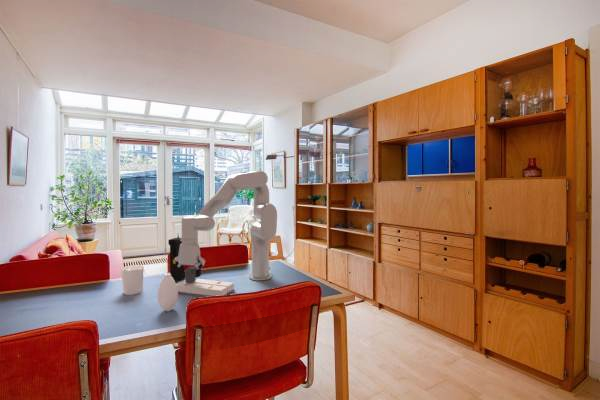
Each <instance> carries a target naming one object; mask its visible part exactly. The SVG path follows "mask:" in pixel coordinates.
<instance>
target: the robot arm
mask: <svg viewBox="0 0 600 400" xmlns="http://www.w3.org/2000/svg"><path fill="white" fill-rule="evenodd" d="M268 179H269V178H268V174H267V173H266V172H265V171H263V170H250V171H248V172H244V173H233V174H232V173H231V174H230V175H229V176H228V177H227V178H226V179H225V180H224V182H223V183H222V185H221V186H220V187H219V189H218V190H217V192H216V193H215V194H214V195H213V196H212V197H211V198H210V200H209V201H207V202H206V203H205V204H204V205H203V207H202V208H201V209H200V210H199V212H198V214H197V215H195V216H194V215H193V216H190V215H189V216H183V217H182V219H181V238H182V239H180V241H182V244H180V248H179V255H178V256H177V257H175V261H176V264H177V265H178V267H179V275H183V274H184V268H185V266H190V267H195V269H196V278H197V279H198V278H199V277H201V275H202V269H203V267H204V266H205V263H206V260H205V258H203V257H201V249H200V244H199V237H198V236H199V234H198V233H199V231H201V232H210V231H212V230H213V229H214V228H215V226H216V221H215V219H214V218H213V217H215V215H216V214H217V213H218V212H219V211H220V210H222V209H224V208H226V207H228V205H230V203H231V202H232V200H233V199H234V198H235V196H236V195H237V193H238V192H239V191H246V190H251V189H252V191H253V210H252V211H253V213H252V214H253V215H254V217H255V218H256V219H257V220H260V221H255V222H254V223H252V225H251V227H250V234H249V235H250V238H251V273H250V274H249V277H248V278H249V279H250V280H252V281H257V282H258V281H266V280H270V279H272V277H273V275H272V274H271V273H270V270H271V266H270V247H269V246H270V243H269V242H271V241H272V240H274V238H275V237H276V235H277V225H278V210H277V207H276V206H275V205H274V204H273V203H270V189H269V187H268V185H267V183H268ZM183 265H184V266H183Z"/></svg>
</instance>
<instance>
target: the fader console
mask: <svg viewBox="0 0 600 400" xmlns="http://www.w3.org/2000/svg"><path fill="white" fill-rule="evenodd" d="M176 285H177V289H178V295H179V294H180V295H187V296H193V295H194V296H193V297H195V296H196V297H202V298H205V297H204V296H216V295H226V294H228V295H230V294H232V293H233V292H235V282H231V281H224V280H213V279H205V278H204V279H202V278H198V277H197V278H196V281H194V282H192V283H186V282H185V279H184V280H182V281H178V282H177V283H176ZM232 291H233V292H232Z"/></svg>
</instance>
